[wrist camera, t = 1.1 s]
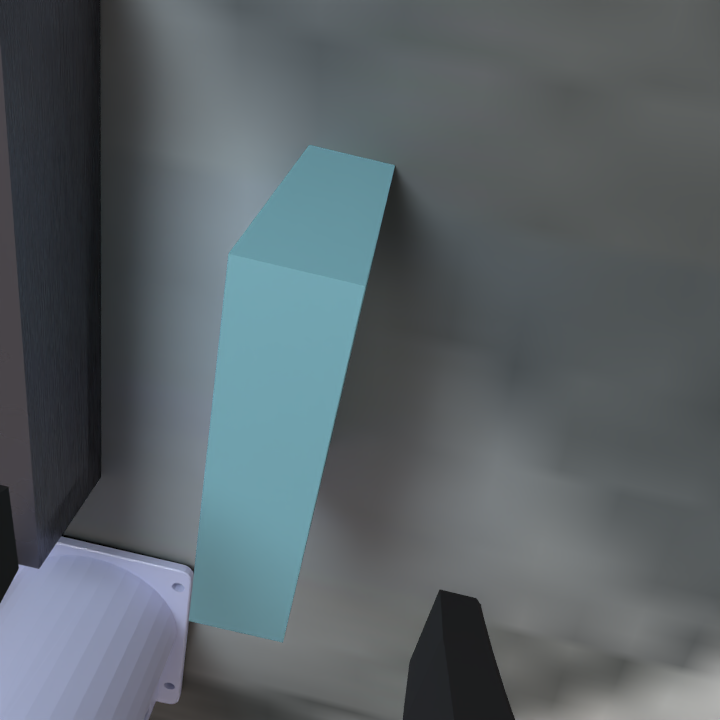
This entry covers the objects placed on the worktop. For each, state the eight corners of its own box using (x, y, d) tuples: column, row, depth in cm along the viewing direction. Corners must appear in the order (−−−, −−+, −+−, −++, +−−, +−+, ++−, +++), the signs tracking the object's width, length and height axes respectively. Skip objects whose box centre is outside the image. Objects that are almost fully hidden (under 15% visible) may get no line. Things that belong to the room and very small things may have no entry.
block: (329, 444, 23) (282, 642, 17) (263, 428, 23) (188, 621, 17) (395, 165, 18) (365, 286, 11) (309, 144, 18) (228, 253, 11)
